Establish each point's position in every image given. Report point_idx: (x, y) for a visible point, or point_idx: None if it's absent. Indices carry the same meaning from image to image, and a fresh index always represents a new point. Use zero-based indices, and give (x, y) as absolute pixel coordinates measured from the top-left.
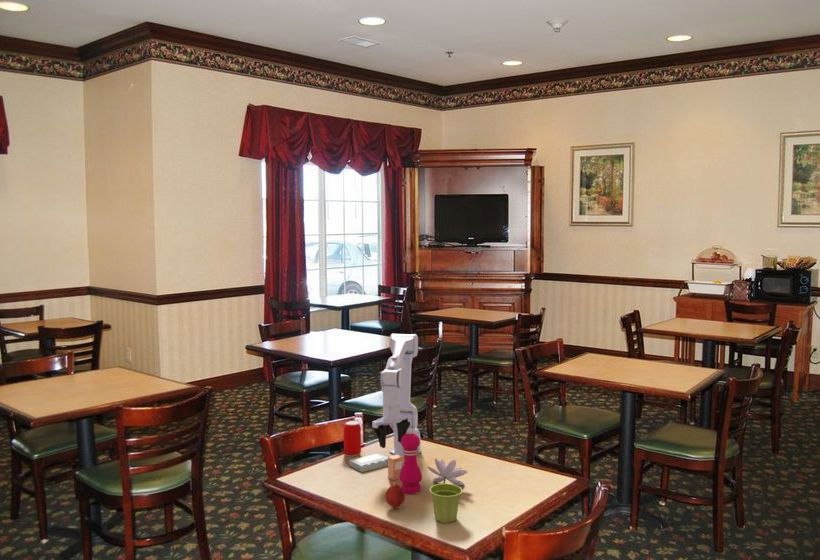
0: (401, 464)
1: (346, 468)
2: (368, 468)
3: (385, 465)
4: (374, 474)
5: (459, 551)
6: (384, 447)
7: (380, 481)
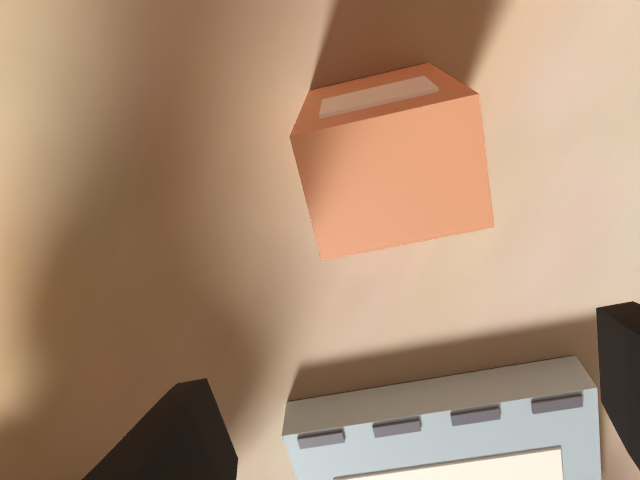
0: (324, 107)
1: (635, 467)
2: (518, 376)
3: (340, 396)
4: (512, 272)
5: None
6: (617, 307)
7: (559, 87)
